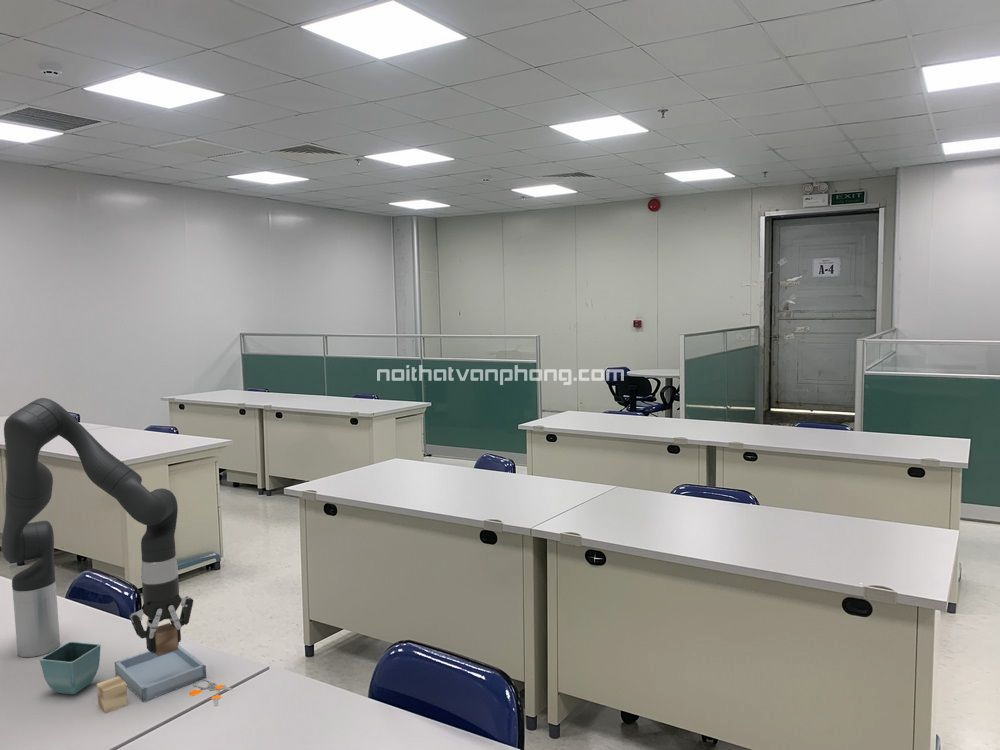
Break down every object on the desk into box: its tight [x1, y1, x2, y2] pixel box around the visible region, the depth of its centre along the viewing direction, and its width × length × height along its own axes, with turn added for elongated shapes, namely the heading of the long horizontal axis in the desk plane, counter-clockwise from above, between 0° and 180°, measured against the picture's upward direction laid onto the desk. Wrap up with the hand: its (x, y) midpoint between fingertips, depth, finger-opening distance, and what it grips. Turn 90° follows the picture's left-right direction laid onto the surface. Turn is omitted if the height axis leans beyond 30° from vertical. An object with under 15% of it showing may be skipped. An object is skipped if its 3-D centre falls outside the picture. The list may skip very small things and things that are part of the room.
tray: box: [114, 644, 207, 703], centre depth 165 cm, size 18×14×3 cm
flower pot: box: [39, 641, 102, 695], centre depth 160 cm, size 9×9×9 cm
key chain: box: [188, 678, 234, 707], centre depth 158 cm, size 13×7×1 cm, turn 58°
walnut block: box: [154, 622, 178, 656], centre depth 161 cm, size 4×4×5 cm
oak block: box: [96, 676, 128, 714], centre depth 153 cm, size 4×4×5 cm
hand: (164, 647), depth 161 cm, fingers closed on walnut block, 4 cm apart
